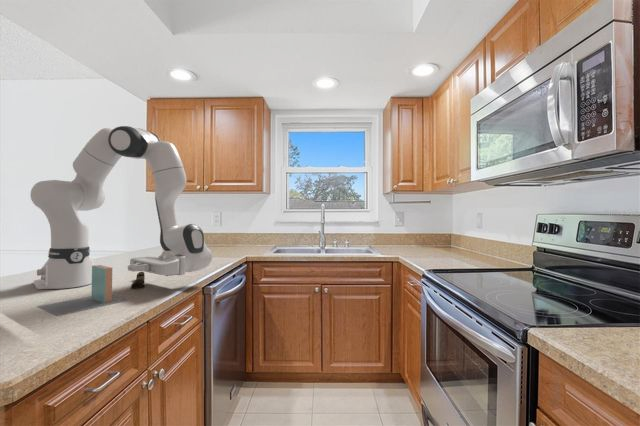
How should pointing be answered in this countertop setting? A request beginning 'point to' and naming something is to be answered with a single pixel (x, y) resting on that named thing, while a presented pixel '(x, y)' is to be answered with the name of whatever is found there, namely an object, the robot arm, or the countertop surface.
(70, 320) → the countertop surface
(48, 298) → the countertop surface
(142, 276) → the hand tool
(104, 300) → the tile
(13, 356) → the countertop surface
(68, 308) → the board
